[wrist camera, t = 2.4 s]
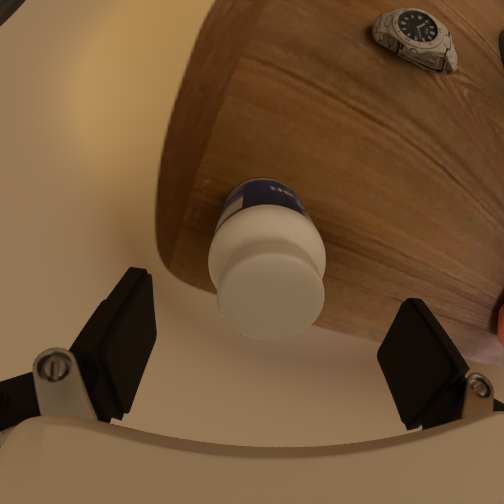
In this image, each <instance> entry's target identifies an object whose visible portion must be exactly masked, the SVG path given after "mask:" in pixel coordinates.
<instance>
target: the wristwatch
mask: <svg viewBox="0 0 504 504" xmlns="http://www.w3.org/2000/svg"><path fill="white" fill-rule="evenodd" d="M372 33H373V34H372V36H373V39H374V40H375V41H376V42H377V43H378V44H380V45H382V46H384V47H386V48H387V49H389V50H391V51H392V52H394V53H396V54H397V55H398V56H400V57H401V58H403V59H404V60H406V61H408V62H411V63H413V64H415V65H416V66H418V67H420V68H421V69H423V70H426V71H427V70H429V71H432V72H435V73H438V74H442V75H453V74H454V72H455V70H456V69H457V65H458V60H457V53H456V52H455V50H454V46H453V44H452V37H451V35H450V33H449V32H448V30H447V29H446V27H445V26H444V25H443V24H442V23H440V22H439V21H438V20H437V19H435V18H434V17H433V16H432V15H431V14H429V13H427V12H426V11H423V10H420V9H416V8H403V9H397V10H394V11H392V12H386V13H384V14H381V15H379V16H378V17H377V18H376V20H375V22H374V23H373V26H372ZM431 53H438V54H443V55H444V57H445V58H443V57H439V56H436V55H434V54H431Z"/></svg>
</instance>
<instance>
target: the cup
mask: <svg viewBox="0 0 504 504" xmlns="http://www.w3.org/2000/svg"><path fill="white" fill-rule="evenodd" d="M499 42H500V52H501V56H502V60H503V64H504V31H503V32H502V33H501V35H500V41H499Z"/></svg>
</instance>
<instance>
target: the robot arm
mask: <svg viewBox="0 0 504 504" xmlns="http://www.w3.org/2000/svg"><path fill="white" fill-rule="evenodd" d="M1 1H2V0H0V2H1ZM156 333H157V331H156V321H155V311H154V299H153V285H152V276H151V274H148V273H147V270H146V269H141V268H135V267H130V268H129V269H128V270H127V272H126V273H125V274H124V276H123V277H122V278H121V280H120V281H119V282H118V284H117V285H116V287H115V288H114V289H113V291H112V292H111V293H110V295H109V296H108V297H107V299H106V300H103V301H102V302H101V303H100V305H99V306H98V307H97V309H96V310H95V312H94V313H93V315H92V316H91V317H90V319H89V320H88V322H87V323H86V325H85V326H84V328H83V329H82V331H81V332H80V334H79V335H78V337H77V338H76V340H75V341H74V343H73V344H72V346H71V348H70V349H69V350H66V349H64V348H58V347H56V348H50V349H47V350H45V351H43V352H42V353H41V354H39V355H38V357H37V358H36V359H35V361H34V364H33V372H30V373H27V374H23V375H20V376H17V377H14V378H11V379H7V380H4V381H1V382H0V504H504V404H503V403H501V402H499V401H498V400H496V399H494V391H493V387H492V384H491V383H490V381H489V380H488V379H487V378H486V377H485V376H483V375H482V374H479V373H471V374H470V375H469V376H468V377H467V378H465V374H466V373H467V372H468V370H469V369H470V368H469V367H468V365H467V364H466V362H465V360H464V359H463V357H462V356H461V354H460V352H459V351H458V349H457V348H456V346H455V345H454V343H453V342H452V340H451V339H450V338H449V336H448V335H447V333H446V332H445V330H444V329H443V328H442V326H441V325H440V323H439V322H438V321H437V319H436V318H435V316H434V315H433V314H432V312H431V311H430V310H429V308H428V307H427V306H426V304H425V303H424V302H423V300H421V299H418V298H408V299H406V300H405V301H404V302H403V303H402V304H401V306H400V309H399V311H398V313H397V315H396V317H395V319H394V321H393V323H392V325H391V327H390V329H389V331H388V333H387V335H386V337H385V339H384V341H383V342H382V344H381V346H380V348H379V350H378V353H377V359H378V362H379V364H380V366H381V369H382V371H383V374H384V376H385V378H386V381H387V383H388V386H389V389H390V391H391V394H392V396H393V399H394V402H395V404H396V407H397V410H398V413H399V415H400V418H401V421H402V422H403V423H404V424H405V426H406V428H407V430H412V429H416V428H418V427H419V426H420V425H422V427H423V428H422V430H421V431H417V432H413V433H409V434H404V435H400V436H395V437H390V438H384V439H378V440H373V441H366V442H359V443H350V444H342V445H331V446H317V447H281V448H280V447H249V446H248V447H247V446H234V445H224V444H223V445H222V444H214V443H206V442H199V441H192V440H186V439H179V438H173V437H168V436H163V435H158V434H153V433H148V432H144V431H139V430H135V429H131V428H126V427H122V426H118V425H114V424H110V421H111V418H115V419H118V420H122V418H123V415H124V413H127V414H128V413H129V412H130V409H131V406H132V403H133V401H134V398H135V395H136V392H137V389H138V386H139V384H140V381H141V378H142V375H143V372H144V370H145V367H146V365H147V362H148V359H149V356H150V354H151V351H152V349H153V346H154V344H155V341H156V336H157V335H156Z"/></svg>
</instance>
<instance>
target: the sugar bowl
mask: <svg viewBox="0 0 504 504" xmlns="http://www.w3.org/2000/svg"><path fill="white" fill-rule="evenodd" d="M498 339H499V342H500V343H501V344H502V346H503V347H504V304H503V305H502V307H501V308H500V310H499V318H498Z"/></svg>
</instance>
